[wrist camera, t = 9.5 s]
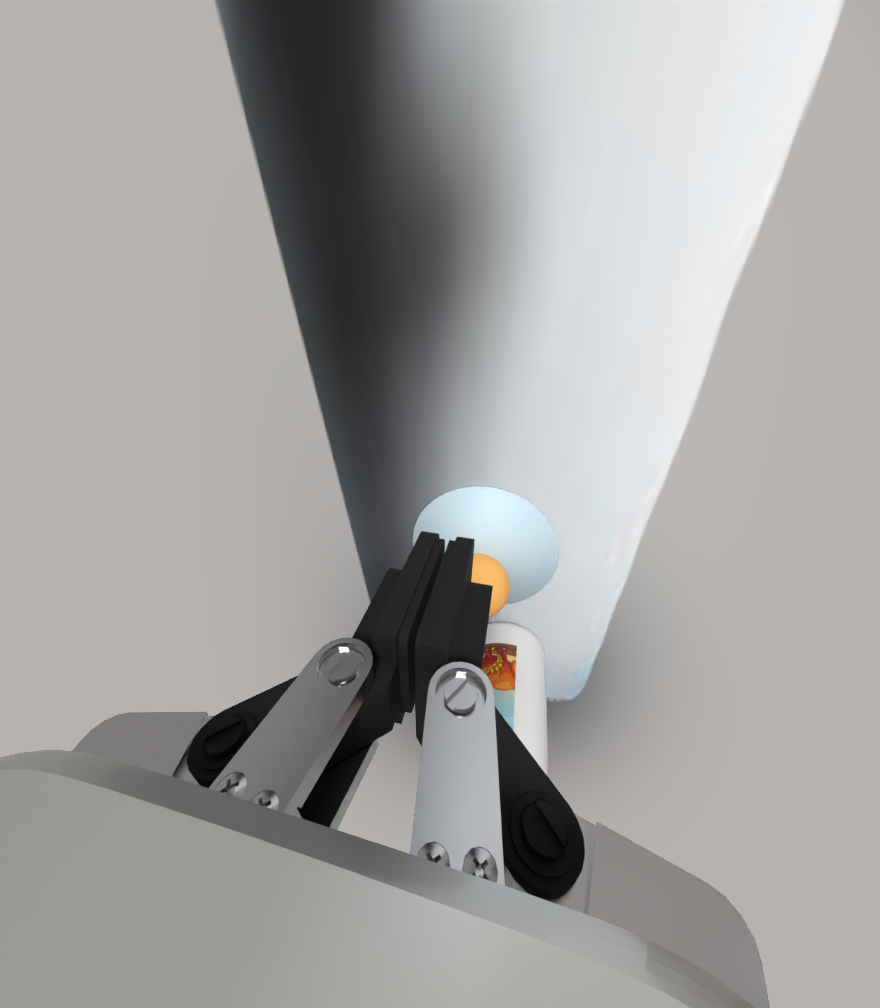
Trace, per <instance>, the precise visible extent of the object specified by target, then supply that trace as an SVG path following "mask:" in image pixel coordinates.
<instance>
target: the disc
mask: <svg viewBox="0 0 880 1008" xmlns="http://www.w3.org/2000/svg"><path fill="white" fill-rule="evenodd" d="M421 531H425V532H431V533H438V534H439V538H440V539H445V551H446V548H447V545H448V542H449V540H453V541H455V540H456V537H457V536H458V537H465V538H472V539H475V543H474V553H479V554H485V555H488V556H490V557H492V558H494V559H495V560H497V561H498V562H499V563H500V564H501V565H502V566H503V568H504V569H505V571H506V573H507V575H508V578H509V584H510V591H509V596H508V599H507V601H506V603H505V604H512V603H515V602H519V601H522V600H524V599H527V598H529V597H531V596H533V595H534V594H536V593H537V592H539V591H540V590H541V589H542V588H543V587H544V586H545V585H546V584H547V583H548V582H549V581H550V579H551V578H552V576H553V574H554V572H555V570H556V567H557V564H558V559H559V545H558V540H557V536H556V534H555V531H554V529H553V527H552V525H551V523H550V522H549V520H548V519H547V518H546V516H545V515H544V514H543V513H542V512H541V511H540V510H539V509H538V508H537V507H536V506H534V505H533V504H532V503H531V502H529V501H528V500H526V499H524V498H522V497H521V496H519V495H516V494H514V493H512V492H509V491H506V490H503V489H499V488H494V487H486V486H470V487H463V488H458V489H455V490H452V491H449V492H447V493H444V494H442V495H440V496H439V497H437V498H436V499H434V500H433V501H432V502H431V503H429V504H428V505H427V506H426V508H425V509H424V510H423V511H422V513H421V514H420V516H419V518H418V519H417V522H416V524H415V528H414V532H413V547H414V545H415V543H416V540H417V538H418V536H419V534H420V532H421Z"/></svg>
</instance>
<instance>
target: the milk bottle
mask: <svg viewBox="0 0 880 1008" xmlns="http://www.w3.org/2000/svg"><path fill="white" fill-rule="evenodd" d="M482 671H483V672H484V673H485V674H486V675H487V676H488V678H489V680H490V682H491V684H492V687H493V692H494V703H495V707H496V708H497V710H498V711H499V712H500V714H501V715H502V716H503V718H504V719H505V720H506V722H507V723H508V724H509V726H510V727H511V728H512V730H513V731H514V732H515V734H516V735H517V736H518V738H519V739H520V740H521V742H522V743H523V744H524V746H525V747H526V748H527V750H528V751H529V752H530V754H531V755H532V756H533V758H534V759H535V760H536V762H537V763H538V764H539V766H540V767H541V768H542V770H543V771H544V772H545V774H546V775H547V709H546V676H545V654H544V648H543V646H542V644H541V642H540V641H539V639H538V638H537V637H536V636H535V634H533V633H532V632H531V631H529V630H528V629H526V628H524V627H522V626H519V625H517V624H512V623H506V622H494V623H490V624H488V627H487V635H486V642H485V649H484V656H483V663H482Z"/></svg>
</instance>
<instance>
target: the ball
mask: <svg viewBox="0 0 880 1008" xmlns="http://www.w3.org/2000/svg"><path fill="white" fill-rule="evenodd" d="M471 582H474V583H480V584H486V585H491V586H493V589H492V597H491V605H490V613H489V617H491V616H493V615H495V614H496V613H498V612H499V611H500V610H501V609H502V608H503V606H504V605H505V603H506V601H507V599H508V596H509V591H510V584H509V578H508V575H507V573H506V571H505V569H504V568H503V566H502V565H501V564H500V563H499V562H498V561H497V560H495V559H494V558H492V557H490V556H488V555H485V554H479V553H474V555H473V567H472V578H471Z"/></svg>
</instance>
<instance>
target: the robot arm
mask: <svg viewBox="0 0 880 1008" xmlns="http://www.w3.org/2000/svg"><path fill="white" fill-rule="evenodd" d="M474 543H475V539H472V538H465V537H458V536H457V537H456V540H455V541H453V540H449V542H448V545H447V548H446V551H445V539H440V538H439V534H438V533H431V532H425V531H421V532H420V534H419V536H418V538H417V540H416V543H415V545H414V547H413V549H412V551H411V553H410V555H409V557H408V559H407V561H406V563H405V565H404V568H403V570H399V569H393V568H391V569H389V570H388V572H387V573H386V575H385V577H384V579H383V581H382V583H381V585H380V586H379V588H378V590H377V592H376V594H375V596H374V598H373V600H372V602H371V603H370V605H369V607H368V609H367V611H366V613H365V615H364V617H363V619H362V621H361V622H360V624H359V626H358V628H357V630H356V632H355V634H354V636H353V637H352V638H340V639H337V640H334V641H331V642H330V643H328V644H326V645H325V646H323V647H322V648H321V649H320V650H319V651H318V652H317V653H316V654H315V655H314V657H313V658H312V659H311V661H310V662H309V663H308V664H307V665H306V667H305V668H304V669H303V671H302V672H301V673H300V674H299V675H298V676H296V677H294V678H292V679H290V680H288V681H285V682H284V683H281V684H279V685H277V686H275V687H273V688H271V689H269V690H266V691H264V692H262V693H260V694H258V695H256V696H254V697H252V698H249V699H247V700H245V701H243V702H241V703H239V704H237V705H235V706H232V707H230V708H228V709H226V710H224V711H222V712H221V713H219V714H217V715H216V716H209V715H208V714H207V712H154V713H153V712H152V713H151V712H150V713H125V714H119V715H116V716H114V717H112V718H109V719H107V720H105V721H103V722H102V723H100V724H99V725H98V726H96V727H95V728H94V729H92V730H91V731H90V732H89V733H88V734H87V735H86V736H85V737H84V738H83V739H82V740H81V741H80V742H79V743H78V745H77V746H76V747H75V749H74V750H73V751H62V750H53V751H52V750H44V751H35V752H26V753H19V754H14V755H10V756H5V757H1V758H0V1008H770V1007H769V1001H768V995H767V990H766V984H765V978H764V972H763V967H762V962H761V959H760V956H759V952H758V949H757V946H756V943H755V939H754V937H753V936H752V934H751V932H750V930H749V928H748V927H747V925H746V923H745V921H744V919H743V918H742V916H741V915H740V914H739V912H738V911H737V910H736V909H735V908H734V906H733V905H732V904H731V903H730V902H729V900H727V898H726V897H725V896H724V895H723V894H721V893H720V892H719V891H717V890H716V889H715V888H713V887H712V886H710V885H709V884H708V883H706V882H704V881H703V880H701V879H699V878H697V877H695V876H693V875H692V874H690V873H688V872H686V871H684V870H683V869H681V868H679V867H677V866H676V865H674V864H672V863H670V862H668V861H667V860H665V859H663V858H661V857H659V856H657V855H656V854H654V853H652V852H650V851H649V850H647V849H645V848H643V847H641V846H640V845H638V844H636V843H634V842H632V841H631V840H629V839H627V838H625V837H623V836H622V835H619V834H618V833H616V832H614V831H612V830H611V829H609V828H607V827H606V826H604V825H602V824H600V823H598V822H597V823H596V824H595V825H594V824H592V823H590V822H588V821H586V820H585V819H583V818H581V817H579V816H577V815H576V814H574V813H573V811H572V809H571V808H570V806H569V805H568V803H567V802H566V801H565V799H564V798H563V797H562V795H561V794H560V792H559V791H558V790H557V789H556V787H555V786H554V784H553V783H552V782H551V781H550V779H549V778H548V776H547V775H546V774H545V772H544V771H543V770H542V768H541V767H540V766H539V764H538V763H537V762H536V760H535V759H534V758H533V756H532V755H531V754H530V752H529V751H528V750H527V748H526V747H525V746H524V744H523V743H522V742H521V740H520V739H519V738H518V736H517V735H516V734H515V732H514V731H513V730H512V728H511V727H510V726H509V724H508V723H507V722H506V720H505V719H504V718H503V716H502V715H501V714H500V712H499V711H498V710H497V708H496V707H495V703H494V692H493V687H492V684H491V682H490V680H489V678H488V676H487V675H486V674H485V673H484V672H483V671H482V663H483V656H484V649H485V642H486V635H487V627H488V620H489V613H490V605H491V597H492V589H493V586H491V585H486V584H480V583H474V582H471V578H472V567H473V555H474ZM414 704H415V710H416V736H417V738H418V740H419V742H420V744H421V746H422V750H421V759H420V768H419V777H418V786H417V795H416V804H415V813H414V823H413V832H412V841H411V851H410V854H408V853H405V852H402V851H399V850H396V849H393V848H390V847H387V846H384V845H381V844H378V843H374V842H372V841H368V840H365V839H362V838H359V837H356V836H353V835H350V834H347V833H344V832H341V831H338V830H337V829H338V827H339V825H340V823H341V821H342V819H343V817H344V815H345V813H346V810H347V808H348V806H349V805H350V803H351V800H352V798H353V796H354V794H355V792H356V790H357V788H358V786H359V784H360V782H361V780H362V778H363V776H364V774H365V772H366V770H367V768H368V766H369V764H370V762H371V760H372V758H373V756H374V754H375V752H376V750H377V748H378V746H379V743H380V740H381V737H382V736H383V735H385V734H386V733H388V732H390V731H391V730H392V729H393V726H394V723H395V722H396V723H400V724H401V723H402V720H403V717H404V714H405V712H409V713H411V712H412V710H413V707H414Z"/></svg>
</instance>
